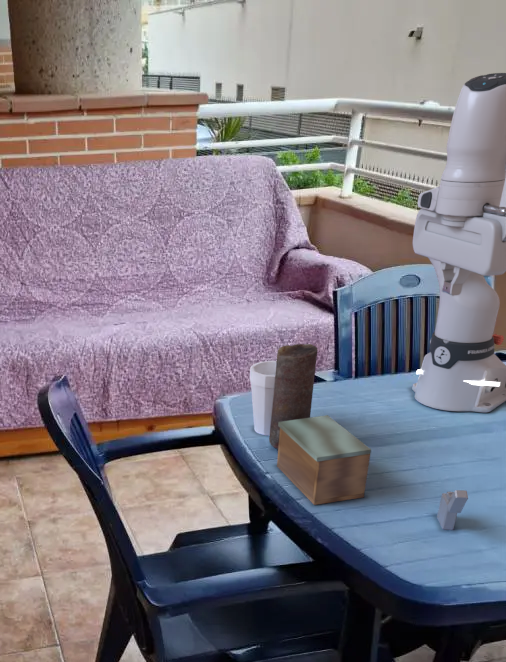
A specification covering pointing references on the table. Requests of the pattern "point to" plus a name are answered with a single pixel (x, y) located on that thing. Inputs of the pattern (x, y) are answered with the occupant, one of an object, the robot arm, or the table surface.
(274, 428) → the dark brown rough cylinder
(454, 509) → the lighter
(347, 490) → the box
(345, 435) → the pale green flat panel
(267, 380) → the foam cup
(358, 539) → the table surface
